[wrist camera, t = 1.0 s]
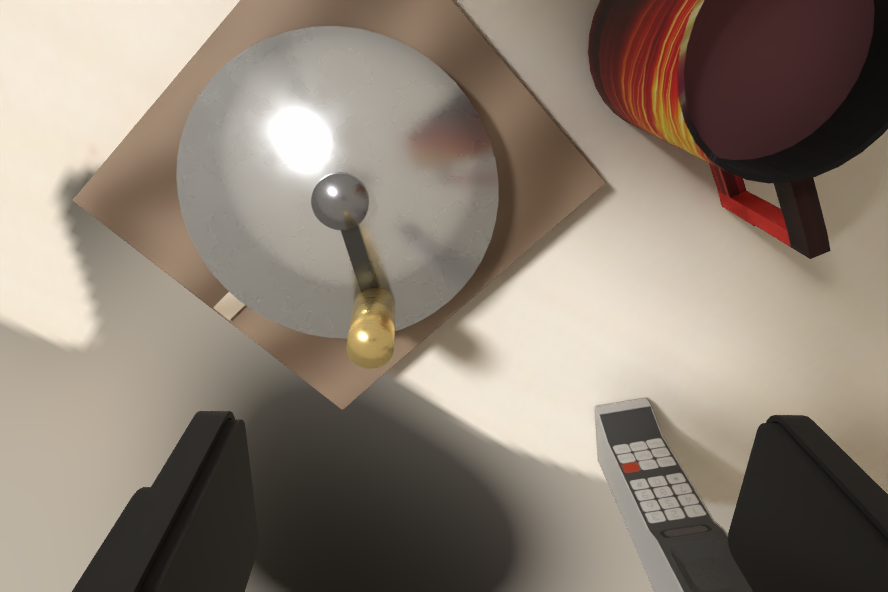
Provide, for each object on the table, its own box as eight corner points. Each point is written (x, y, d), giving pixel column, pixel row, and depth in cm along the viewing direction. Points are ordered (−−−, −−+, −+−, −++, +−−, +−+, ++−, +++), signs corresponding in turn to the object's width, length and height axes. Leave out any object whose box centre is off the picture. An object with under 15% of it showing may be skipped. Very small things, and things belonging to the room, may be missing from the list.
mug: (717, 204, 37) (845, 284, 26) (551, 58, 33) (622, 81, 22) (845, 71, 34) (1048, 99, 23) (680, -107, 30) (834, -175, 19)
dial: (131, 73, 31) (65, 87, 25) (458, -14, 30) (471, -20, 24) (253, 353, 38) (225, 416, 32) (519, 290, 37) (540, 343, 31)
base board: (85, 192, 35) (70, 201, 33) (349, -120, 29) (345, -127, 27) (344, 396, 42) (342, 411, 40) (597, 176, 36) (606, 183, 34)
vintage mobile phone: (645, 394, 43) (910, 820, 20) (646, 449, 45) (887, 890, 22) (592, 403, 43) (799, 837, 20) (596, 457, 45) (787, 905, 22)
